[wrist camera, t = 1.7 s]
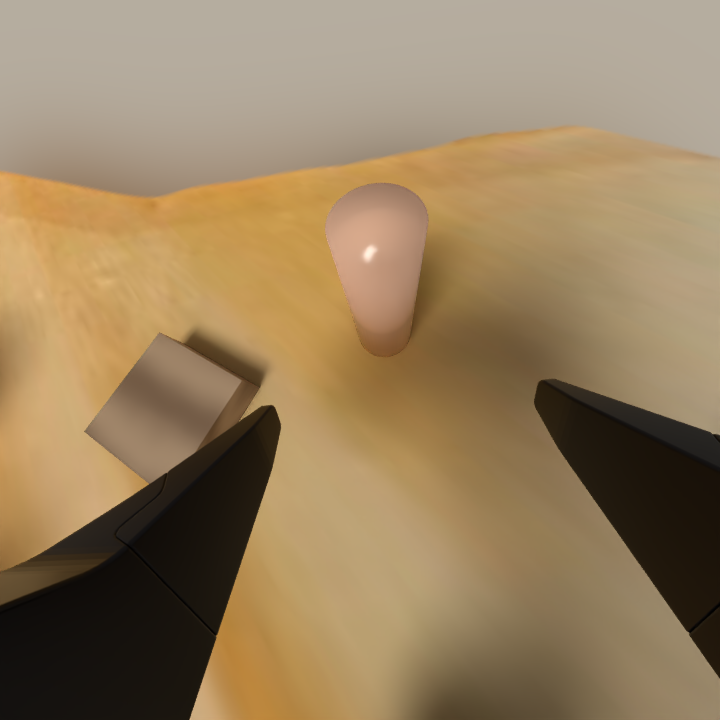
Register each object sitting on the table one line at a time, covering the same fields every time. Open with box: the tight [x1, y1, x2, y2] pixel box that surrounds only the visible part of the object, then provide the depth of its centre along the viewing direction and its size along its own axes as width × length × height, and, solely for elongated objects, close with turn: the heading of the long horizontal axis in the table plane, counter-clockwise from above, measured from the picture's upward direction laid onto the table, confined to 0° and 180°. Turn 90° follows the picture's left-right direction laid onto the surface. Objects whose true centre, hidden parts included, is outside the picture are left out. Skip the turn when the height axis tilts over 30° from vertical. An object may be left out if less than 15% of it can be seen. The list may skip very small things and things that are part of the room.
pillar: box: [325, 183, 428, 357], centre depth 18 cm, size 5×5×13 cm
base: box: [84, 333, 260, 484], centre depth 23 cm, size 10×10×3 cm
